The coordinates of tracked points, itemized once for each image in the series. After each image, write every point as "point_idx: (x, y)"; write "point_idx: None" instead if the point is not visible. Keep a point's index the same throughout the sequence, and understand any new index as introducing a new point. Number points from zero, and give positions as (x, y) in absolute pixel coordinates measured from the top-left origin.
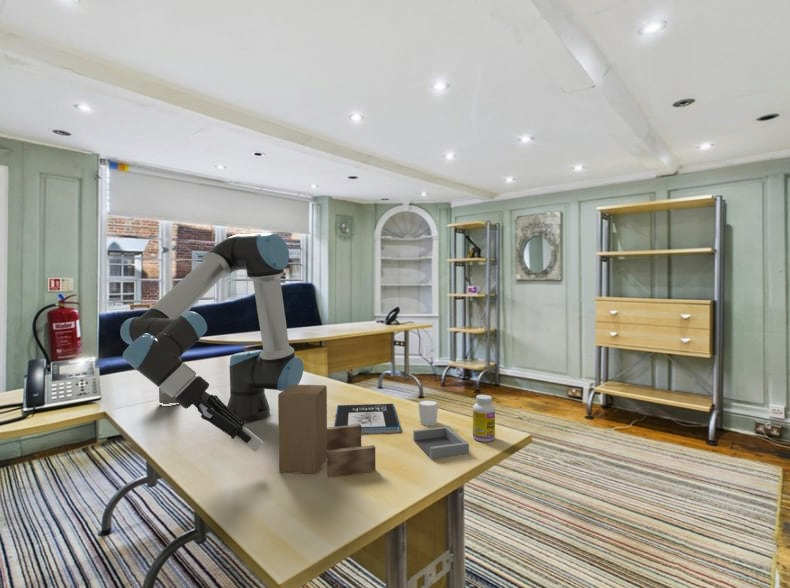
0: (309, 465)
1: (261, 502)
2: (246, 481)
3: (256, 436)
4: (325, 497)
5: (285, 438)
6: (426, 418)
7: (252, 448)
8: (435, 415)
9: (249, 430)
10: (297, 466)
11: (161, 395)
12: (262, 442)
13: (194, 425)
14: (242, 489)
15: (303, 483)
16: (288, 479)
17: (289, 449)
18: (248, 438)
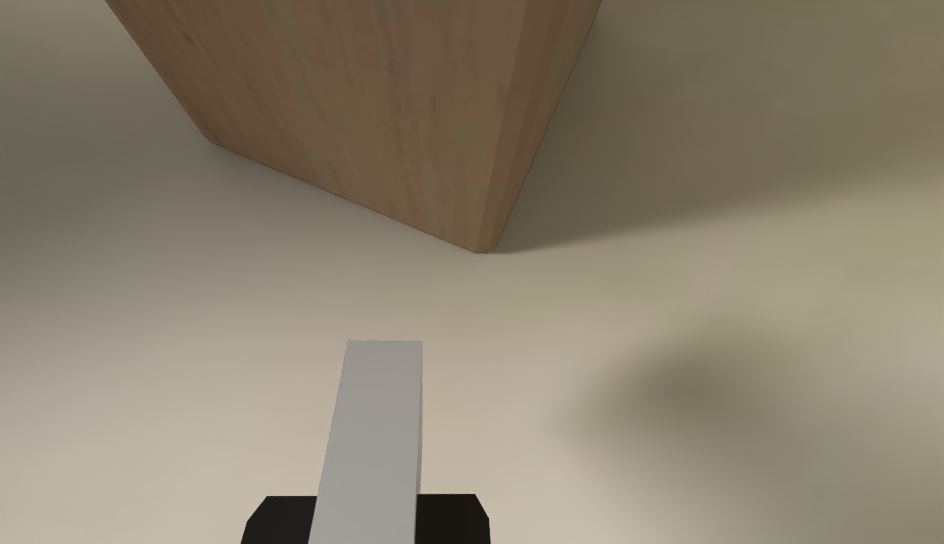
0: (593, 15)
1: (919, 388)
2: (569, 513)
3: (352, 420)
4: (916, 6)
5: (561, 61)
6: None
7: (420, 473)
8: None
9: (324, 534)
10: (556, 103)
11: None
12: (399, 349)
13: None
14: (700, 537)
15: (707, 106)
16: (620, 197)
17: (555, 88)
18: (485, 535)
